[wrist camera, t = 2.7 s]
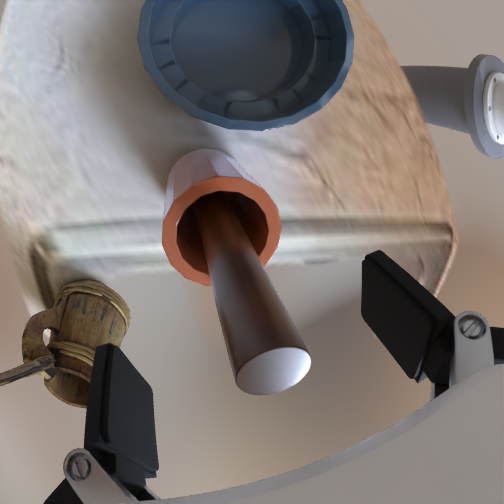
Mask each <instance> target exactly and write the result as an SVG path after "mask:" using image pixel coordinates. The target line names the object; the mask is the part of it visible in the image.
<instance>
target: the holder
mask: <svg viewBox="0 0 504 504" xmlns="http://www.w3.org/2000/svg"><path fill="white" fill-rule="evenodd" d="M216 191H224V193H225V195H226V197H227V199H228V201H229V203H230V204H231V206H232V208H233V210H234V212H235V214H236V216H237V218H238V219H239V221H240V223H241V225H242V227H243V229H244V231H245V233H246V234H247V236H248V238H249V240H250V242H251V244H252V246H253V248H254V250H255V251H256V253H257V255H258V257H259V259H260V261H261V263H262V265H263V267H265V266H266V265H267V263H268V262H269V260H270V259H271V257H272V256H273V254H274V253H275V251H276V250H277V247H278V242H279V238H280V233H281V222H280V217H279V212H278V208H277V206H276V204H275V203H274V202H273V200H272V199H271V198H270V196H269V195H268V194H267V192H266V191H265V190H264V189H263V188H262V187H261V186H260V185H259V184H258V183H257V182H256V181H255V180H254V179H253V178H252V177H251V176H250V175H249V174H248V173H247V172H246V171H245V170H244V169H243V168H242V167H241V166H240V165H239V164H238V163H237V162H236V161H235V160H234V159H233V158H232V157H231V156H229V155H227V154H226V153H224V152H222V151H220V150H216V149H212V148H201V149H196V150H193V151H190V152H188V153H186V154H185V155H183V156H182V157H181V158H180V159H179V160H178V161H177V162H176V163H175V164H174V166H173V167H172V169H171V171H170V174H169V176H168V181H167V189H166V197H165V206H164V216H163V231H162V244H163V248H164V250H165V253H166V255H167V257H168V259H169V262H170V264H171V265H172V266H173V267H174V268H175V269H176V270H177V271H178V272H180V273H181V274H182V275H183V276H184V277H185V278H187V279H189V280H192V281H194V282H197V283H200V284H203V285H206V286H212V284H211V280H210V275H209V271H208V266H207V261H206V257H205V252H204V247H203V242H202V237H201V232H200V227H199V222H198V217H197V212H196V206H195V201H196V200H197V199H198V198H200V197H201V196H204V195H207V194H210V193H213V192H216Z"/></svg>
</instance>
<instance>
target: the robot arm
mask: <svg viewBox="0 0 504 504" xmlns="http://www.w3.org/2000/svg"><path fill="white" fill-rule="evenodd" d="M483 111H484V118H485V123H486V127H487V130H488V132H489V135H490V136H491V138H492V139H493V140H494V141H495V142H496V143H499V144H502V145H503V144H504V74H502V73H500V72H492V73H491V74H490V75H489V76H488V78H487V80H486V83H485V87H484V93H483ZM361 301H362V302H361V314H362V317H363V319H364V321H365V322H366V323H367V324H368V326H369V327H370V328H371V329H372V331H373V332H374V333H375V334H376V336H377V337H378V338H379V339H380V341H381V342H382V343H383V345H384V346H385V347H386V348H387V350H388V351H389V352H390V353H391V355H392V356H393V357H394V359H395V360H396V361H397V363H398V364H399V365H400V367H401V368H402V369H403V370H404V372H405V373H406V374H407V376H408V377H409V378H410V379H413V378H414V379H415V380H416V382H417V383H419V382H421V381H422V380H424V379H425V378H427V377H428V378H429V380H430V381H431V382H432V386H431V397H430V402H429V403H427V404H426V405H424V406H423V407H421V408H420V409H418V410H416V411H415V412H413V413H411V414H410V415H408V416H407V417H405V418H403V419H402V420H400V421H398V422H397V423H395V424H393V425H392V426H390V427H388V428H386V429H384V430H382V431H381V432H379V433H377V434H375V435H373V436H371V437H369V438H367V439H365V440H363V441H361V442H359V443H357V444H355V445H353V446H351V447H349V448H347V449H344V450H342V451H340V452H338V453H335V454H333V455H331V456H328V457H326V458H324V459H321V460H319V461H316V462H314V463H311V464H308V465H306V466H303V467H300V468H298V469H295V470H292V471H289V472H286V473H283V474H280V475H277V476H274V477H270V478H267V479H263V480H260V481H256V482H253V483H249V484H245V485H241V486H237V487H232V488H228V489H224V490H219V491H214V492H209V493H203V494H197V495H190V496H183V497H176V498H168V499H160V498H159V497H158V496H157V495H156V494H154V493H153V492H152V491H151V490H150V489H149V488H148V487H147V486H146V482H145V478H154V477H157V476H156V471H157V470H158V468H159V463H158V454H157V445H156V434H155V421H154V405H153V392H152V389H151V387H150V385H149V384H148V383H147V382H146V380H145V379H144V378H143V377H142V376H141V374H140V373H139V372H138V371H137V370H136V368H135V367H134V366H133V365H132V363H131V362H130V361H129V360H128V358H127V357H126V356H125V355H124V353H123V352H122V351H121V349H120V348H119V347H118V346H117V345H113V344H112V343H106V344H103V345H99V346H97V347H96V349H95V354H94V360H93V366H92V373H91V379H90V387H89V394H88V403H87V412H86V423H85V437H84V449H83V448H77V449H74V450H72V451H71V452H69V453H68V455H67V456H66V458H65V460H64V465H63V470H64V474H65V477H66V478H65V479H64V480H63V481H62V482H61V484H60V485H59V486H58V487H57V488H56V489H55V490H54V491H53V492H52V494H51V495H50V496H49V497H48V498H47V499H46V500H45V502H44V504H504V328H498V327H489V324H488V321H487V320H486V319H485V317H483V316H482V315H481V314H479V313H477V312H473V311H465V312H462V313H460V314H459V315H458V316H457V317H455V316H454V315H453V314H452V313H451V312H450V311H449V310H448V309H447V308H446V307H445V306H444V305H443V304H442V303H441V302H440V301H438V300H437V299H436V298H435V297H434V296H433V295H432V294H431V293H430V292H429V291H428V290H426V289H425V288H424V287H423V286H422V285H421V284H420V283H419V282H418V281H416V280H415V279H414V278H413V277H412V276H411V275H410V274H408V273H407V272H406V271H405V270H404V269H403V268H401V267H400V266H399V265H398V264H397V263H396V262H394V261H393V260H392V259H391V258H390V257H388V256H387V255H386V254H385V253H384V252H382V251H381V250H377V251H375V252H372V253H370V254H367V255H366V256H365V260H363V261H362V300H361Z"/></svg>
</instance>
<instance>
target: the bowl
mask: <svg viewBox="0 0 504 504" xmlns="http://www.w3.org/2000/svg"><path fill="white" fill-rule="evenodd" d="M137 38H138V39H137V40H138V44H139V48H140V51H141V55H142V59H143V63H144V67H145V69H146V71H147V73H148V74H149V75H150V77H151V78H152V79H153V81H154V82H155V84H156V85H157V86H158V88H159V89H160V91H161V92H162V93H163V95H164V96H165V97H166V98H167V99H168V100H170V101H171V102H173V103H174V104H175V105H177V106H178V107H180V108H181V109H182V110H184V111H185V112H187V113H188V114H189V115H191V116H192V117H194V118H197V119H200V120H203V121H206V122H209V123H212V124H215V125H218V126H221V127H223V128H226V129H236V130H254V131H265V130H270V129H274V128H278V127H283V126H287V125H292V124H295V123H297V122H299V121H301V120H303V119H304V118H306V117H308V116H310V115H311V114H313V113H315V112H317V111H319V110H320V109H322V108H323V107H324V106H325V105H326V104H327V103H328V102H329V100H330V99H331V98H332V97H333V96H334V95H335V94H336V93H337V92H338V91H339V90H340V89H341V87H342V85H343V82H344V80H345V78H346V76H347V73H348V71H349V69H350V66H351V64H352V59H353V46H354V33H353V29H352V25H351V21H350V18H349V14H348V10H347V8H346V6H345V5H344V3H343V1H342V0H146V1H145V3H144V5H143V7H142V9H141V15H140V22H139V29H138V37H137Z"/></svg>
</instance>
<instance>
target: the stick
mask: <svg viewBox="0 0 504 504" xmlns="http://www.w3.org/2000/svg"><path fill="white" fill-rule="evenodd" d="M195 206H196V212H197V217H198V222H199V227H200V232H201V237H202V242H203V247H204V252H205V257H206V261H207V266H208V271H209V275H210V280H211V284H212V289H213V293H214V297H215V302H216V306H217V310H218V315H219V319H220V323H221V327H222V332H223V335H224V339H225V344H226V347H227V352H228V356H229V360H230V363H231V367H232V371H233V375H234V379H235V382H236V385H237V386H238V388H240V389H241V390H242V391H244V392H246V393H248V394H252V395H269V394H274V393H277V392H280V391H283V390H286V389H288V388H290V387H291V386H293V385H295V384H296V383H297V382H298V381H300V380H301V379H302V378H303V377H304V376H305V375H306V374H307V372H308V371H309V369H310V366H311V356H310V354H309V352H308V350H307V348H306V346H305V344H304V342H303V340H302V339H301V337H300V335H299V333H298V331H297V329H296V327H295V325H294V323H293V321H292V320H291V318H290V316H289V314H288V312H287V310H286V308H285V306H284V304H283V303H282V301H281V299H280V297H279V295H278V293H277V291H276V289H275V287H274V286H273V284H272V282H271V280H270V278H269V276H268V274H267V272H266V270H265V268H264V267H263V265H262V263H261V261H260V259H259V257H258V255H257V253H256V251H255V250H254V248H253V246H252V244H251V242H250V240H249V238H248V236H247V234H246V233H245V231H244V229H243V227H242V225H241V223H240V221H239V219H238V218H237V216H236V214H235V212H234V210H233V208H232V206H231V204H230V203H229V201H228V199H227V197H226V195H225V193H224V191H216V192H213V193H210V194H207V195H204V196H201V197H200V198H198V199H197V200H196V201H195Z"/></svg>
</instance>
